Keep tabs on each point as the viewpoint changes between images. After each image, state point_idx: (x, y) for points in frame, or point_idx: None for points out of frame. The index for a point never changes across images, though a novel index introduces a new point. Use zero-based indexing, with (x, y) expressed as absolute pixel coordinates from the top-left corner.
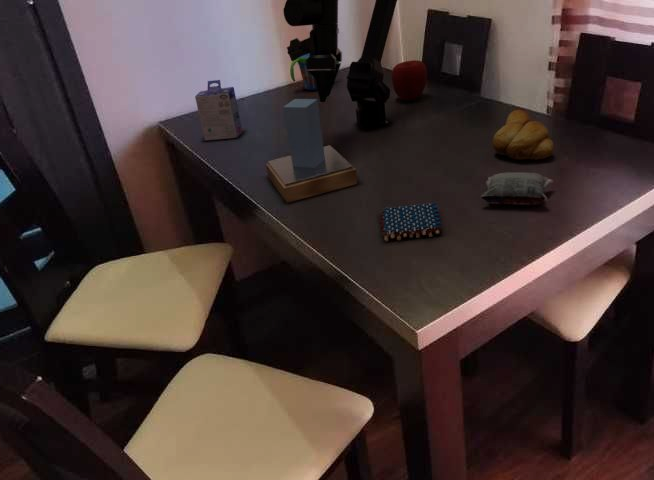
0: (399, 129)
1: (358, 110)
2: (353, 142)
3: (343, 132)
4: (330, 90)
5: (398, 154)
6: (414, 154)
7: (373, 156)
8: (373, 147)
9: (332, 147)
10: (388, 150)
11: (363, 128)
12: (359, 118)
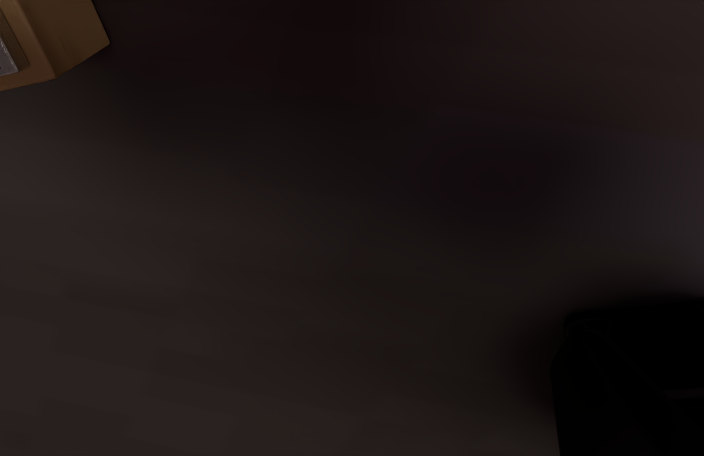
0: (464, 437)
1: (674, 391)
2: (400, 216)
3: (650, 191)
4: (563, 447)
5: (124, 362)
6: (108, 407)
7: (126, 268)
8: (260, 293)
9: (35, 83)
10: (189, 340)
11: (597, 313)
12: (645, 347)
